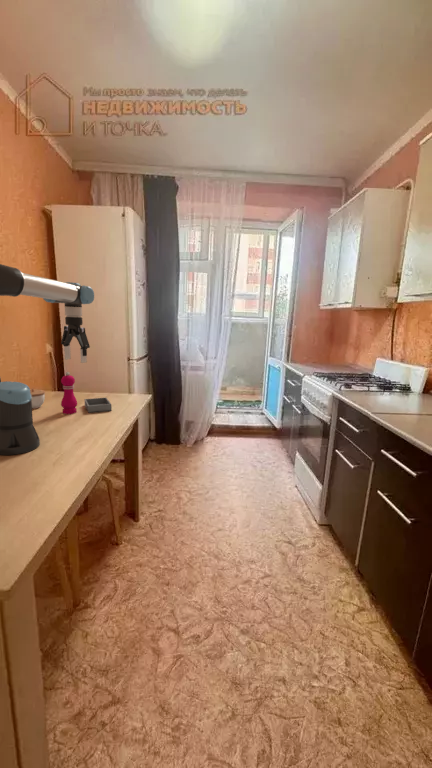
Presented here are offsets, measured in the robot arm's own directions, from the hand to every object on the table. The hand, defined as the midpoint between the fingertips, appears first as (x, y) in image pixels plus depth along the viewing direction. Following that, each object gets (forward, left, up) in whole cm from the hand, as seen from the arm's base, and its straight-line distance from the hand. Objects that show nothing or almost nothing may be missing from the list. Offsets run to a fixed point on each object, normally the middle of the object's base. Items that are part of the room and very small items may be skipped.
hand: (75, 361), depth 166 cm
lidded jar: (-6, +22, -25) cm, 34 cm away
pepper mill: (-5, 0, -25) cm, 25 cm away
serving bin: (+7, -7, -25) cm, 26 cm away
